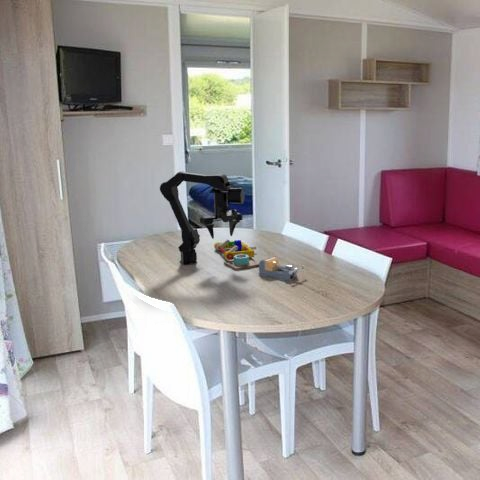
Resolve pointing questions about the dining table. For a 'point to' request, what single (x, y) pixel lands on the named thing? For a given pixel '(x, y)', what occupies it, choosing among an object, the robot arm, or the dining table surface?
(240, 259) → the ring
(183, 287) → the dining table surface
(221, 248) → the yellow jointed frame
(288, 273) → the vise
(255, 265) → the post stand
